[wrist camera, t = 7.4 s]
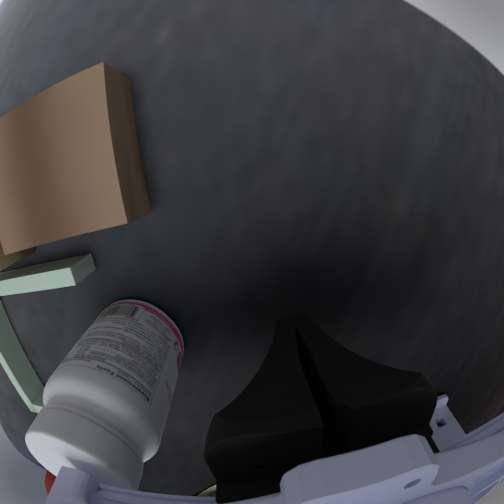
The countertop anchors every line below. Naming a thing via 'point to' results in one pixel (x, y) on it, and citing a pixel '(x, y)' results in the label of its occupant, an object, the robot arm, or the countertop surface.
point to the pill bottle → (110, 396)
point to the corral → (3, 336)
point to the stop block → (13, 256)
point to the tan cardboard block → (70, 161)
